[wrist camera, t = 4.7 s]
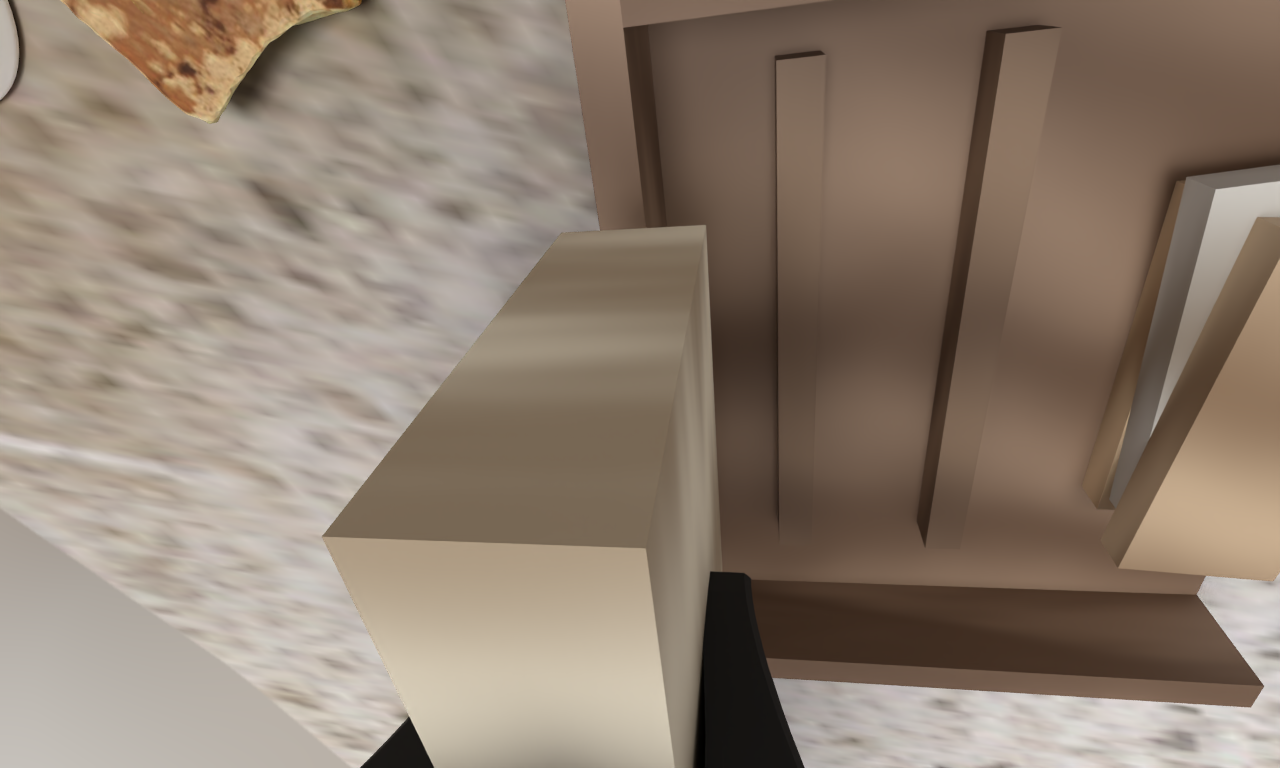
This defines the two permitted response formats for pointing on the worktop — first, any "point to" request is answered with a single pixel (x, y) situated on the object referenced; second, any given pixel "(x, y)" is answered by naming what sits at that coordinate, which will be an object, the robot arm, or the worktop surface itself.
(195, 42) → the shard
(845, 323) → the rack
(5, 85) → the cosmetic bottle
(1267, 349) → the offcut top
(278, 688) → the worktop surface
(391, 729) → the worktop surface
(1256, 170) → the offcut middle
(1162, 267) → the offcut bottom
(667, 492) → the birch sheet
